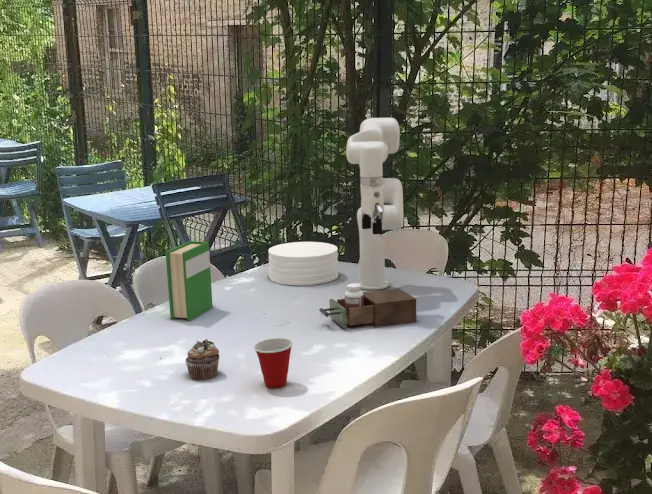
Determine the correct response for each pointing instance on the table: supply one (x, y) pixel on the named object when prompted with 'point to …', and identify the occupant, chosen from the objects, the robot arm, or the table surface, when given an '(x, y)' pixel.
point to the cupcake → (203, 360)
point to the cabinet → (392, 306)
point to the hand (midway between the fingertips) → (371, 231)
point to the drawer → (350, 313)
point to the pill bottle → (353, 297)
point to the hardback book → (189, 280)
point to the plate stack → (303, 263)
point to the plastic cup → (274, 360)
